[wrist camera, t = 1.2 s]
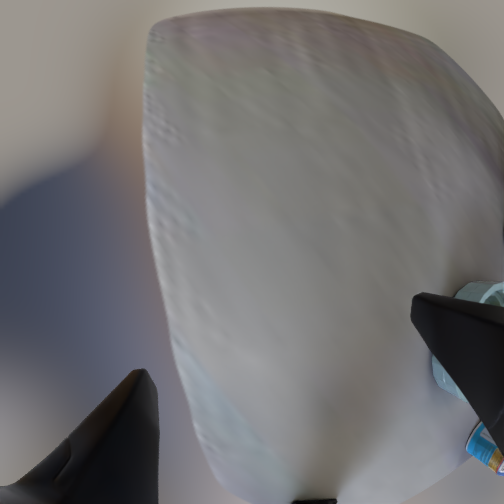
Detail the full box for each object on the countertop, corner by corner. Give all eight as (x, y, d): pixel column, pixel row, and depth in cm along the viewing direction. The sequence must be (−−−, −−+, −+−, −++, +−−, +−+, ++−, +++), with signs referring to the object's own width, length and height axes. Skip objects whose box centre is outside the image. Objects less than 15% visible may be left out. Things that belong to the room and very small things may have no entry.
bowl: (474, 387, 25) (496, 397, 20) (412, 390, 24) (437, 406, 19) (502, 292, 26) (526, 294, 21) (448, 269, 25) (478, 270, 20)
